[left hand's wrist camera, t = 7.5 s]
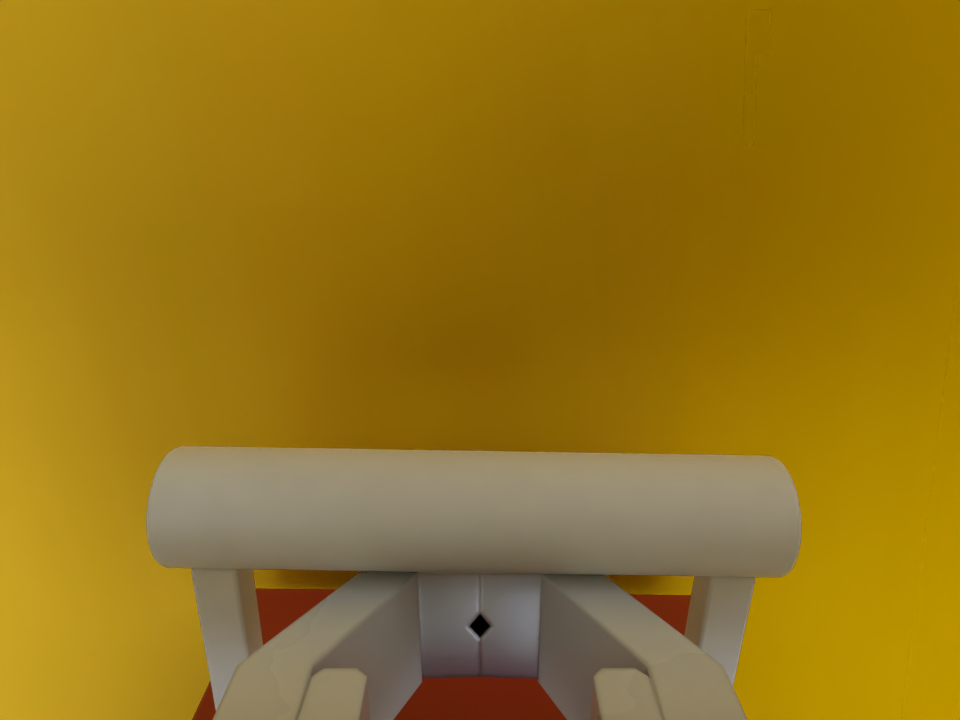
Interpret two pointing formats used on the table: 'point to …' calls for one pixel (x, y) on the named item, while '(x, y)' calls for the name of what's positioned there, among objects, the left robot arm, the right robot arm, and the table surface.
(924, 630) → the table surface
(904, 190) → the table surface
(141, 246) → the table surface
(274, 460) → the drawer
